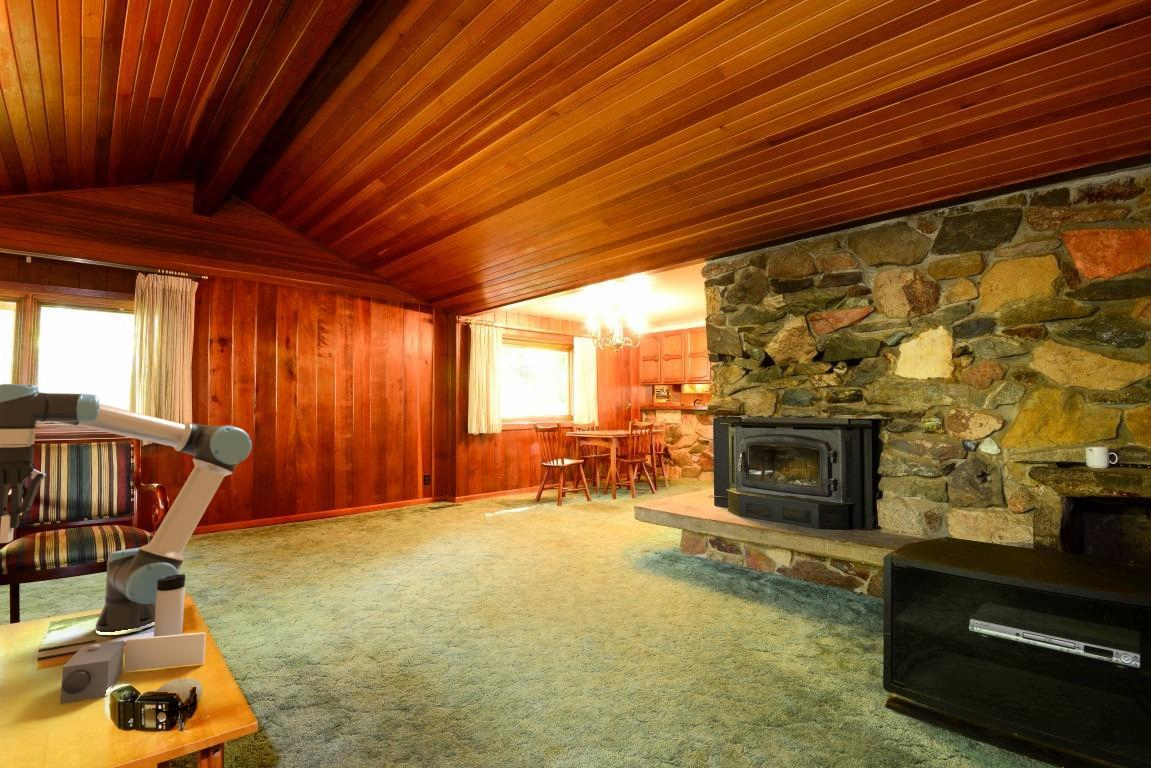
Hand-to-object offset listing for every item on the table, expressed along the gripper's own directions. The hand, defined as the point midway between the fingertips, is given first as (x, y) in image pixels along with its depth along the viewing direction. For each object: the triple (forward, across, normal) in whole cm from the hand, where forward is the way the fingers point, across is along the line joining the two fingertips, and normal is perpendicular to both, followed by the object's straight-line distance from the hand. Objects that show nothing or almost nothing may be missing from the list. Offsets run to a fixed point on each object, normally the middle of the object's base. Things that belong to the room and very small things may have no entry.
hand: (6, 541), depth 134 cm
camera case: (+32, -23, +17) cm, 43 cm away
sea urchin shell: (+33, -42, +33) cm, 62 cm away
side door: (+32, -35, +12) cm, 49 cm away
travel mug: (+33, -34, -1) cm, 47 cm away
